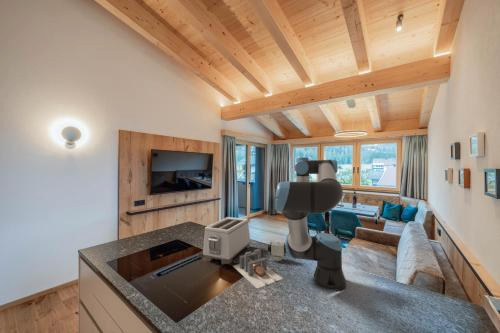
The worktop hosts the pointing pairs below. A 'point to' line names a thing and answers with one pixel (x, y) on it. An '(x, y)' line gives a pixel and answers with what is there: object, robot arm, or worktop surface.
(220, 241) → the toaster
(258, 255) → the board
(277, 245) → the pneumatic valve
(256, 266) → the tube
